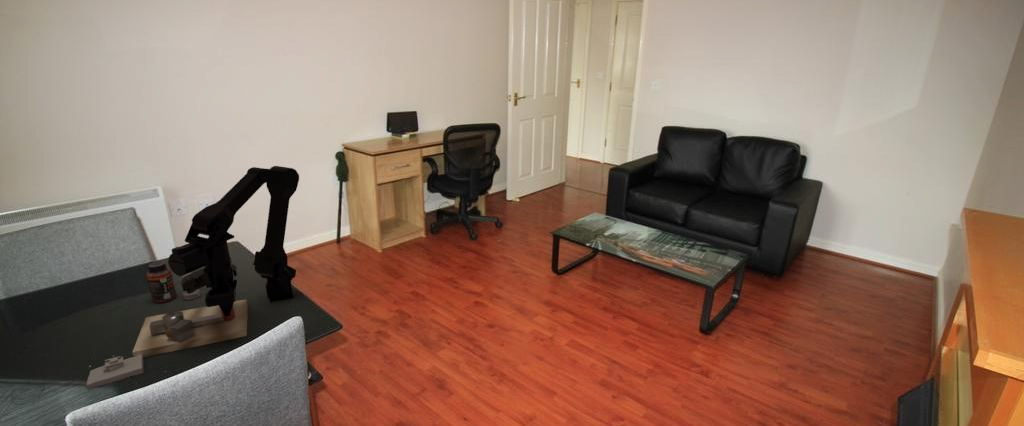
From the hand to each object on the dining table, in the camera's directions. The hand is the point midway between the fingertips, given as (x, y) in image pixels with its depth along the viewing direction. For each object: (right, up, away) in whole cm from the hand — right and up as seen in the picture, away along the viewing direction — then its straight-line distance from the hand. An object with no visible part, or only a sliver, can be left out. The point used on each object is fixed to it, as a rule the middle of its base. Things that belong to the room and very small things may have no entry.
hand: (227, 312), depth 131 cm
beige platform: (-16, -11, -17) cm, 25 cm away
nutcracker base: (-8, -4, -1) cm, 9 cm away
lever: (-7, -2, -3) cm, 8 cm away
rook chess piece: (-20, +1, +15) cm, 25 cm away
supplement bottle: (-27, +1, +14) cm, 30 cm away
